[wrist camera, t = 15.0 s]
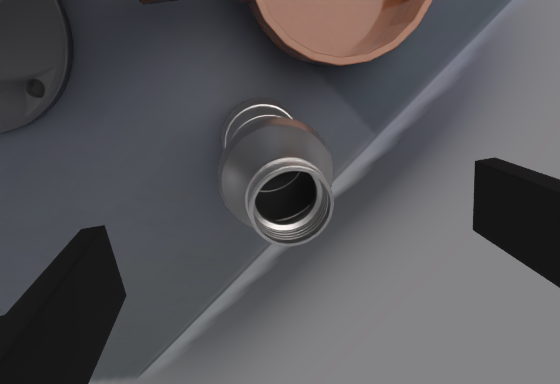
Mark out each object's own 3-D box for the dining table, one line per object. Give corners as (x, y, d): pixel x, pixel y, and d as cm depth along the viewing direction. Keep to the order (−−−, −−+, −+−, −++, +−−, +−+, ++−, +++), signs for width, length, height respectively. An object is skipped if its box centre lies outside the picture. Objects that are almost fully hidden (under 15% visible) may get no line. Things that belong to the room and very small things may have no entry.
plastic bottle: (307, 138, 36) (395, 216, 17) (249, 181, 36) (273, 302, 18) (266, 80, 34) (316, 96, 15) (206, 126, 34) (180, 198, 16)
